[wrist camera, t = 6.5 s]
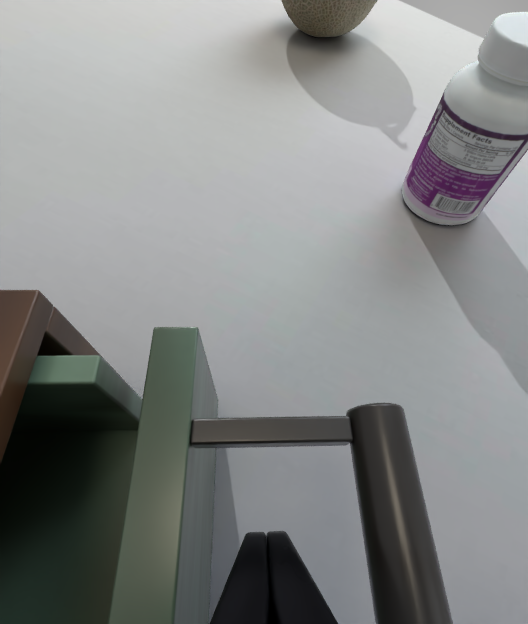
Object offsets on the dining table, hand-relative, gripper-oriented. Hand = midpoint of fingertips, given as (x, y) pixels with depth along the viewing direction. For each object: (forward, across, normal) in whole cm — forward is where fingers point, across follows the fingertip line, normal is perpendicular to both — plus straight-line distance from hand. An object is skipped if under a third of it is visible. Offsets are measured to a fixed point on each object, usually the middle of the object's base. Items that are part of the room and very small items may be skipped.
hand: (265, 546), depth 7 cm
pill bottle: (+18, -13, -8) cm, 24 cm away
